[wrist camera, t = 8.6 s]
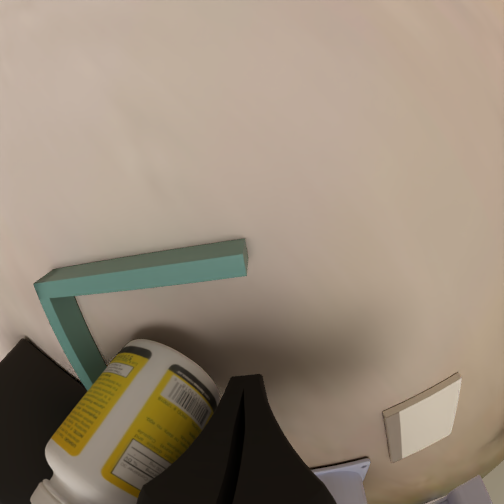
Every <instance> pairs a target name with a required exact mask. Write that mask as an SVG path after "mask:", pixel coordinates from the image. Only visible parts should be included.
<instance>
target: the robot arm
mask: <svg viewBox="0 0 504 504" xmlns="http://www.w3.org/2000/svg"><path fill="white" fill-rule="evenodd" d="M370 463H371V462H370V459H369V458H366V459H361V460H357V461H353V462H349V463H345V464H340V465H335V466H330V467H325V468H319V469H313V470H310V468H309V467H308V466H307V465H306V464H305V463H304V462H303V460H302V459H301V458H300V456H299V455H298V454H297V453H296V451H295V450H294V449H293V447H292V446H291V444H290V443H289V441H288V440H287V438H286V437H285V435H284V433H283V432H282V430H281V428H280V426H279V425H278V423H277V421H276V419H275V417H274V415H273V413H272V410H271V408H270V405H269V403H268V399H267V395H266V390H265V385H264V381H263V376H262V375H260V374H255V375H246V376H235V377H231V378H230V380H229V383H228V385H227V388H226V390H225V392H224V394H223V396H222V398H221V400H220V402H219V404H218V406H217V408H216V409H215V411H214V413H213V415H212V416H211V418H210V419H209V421H208V423H207V424H206V426H205V427H204V429H203V430H202V431H201V433H200V434H199V435H198V437H197V438H196V439H195V440H194V442H193V443H192V444H191V445H190V446H189V447H188V449H187V450H186V451H185V452H184V453H183V454H182V455H181V456H180V457H179V458H178V459H177V460H176V461H175V462H173V463H172V464H171V465H170V466H169V467H168V468H167V469H165V470H164V471H163V472H162V473H160V474H159V475H158V476H156V477H155V478H153V479H152V480H150V481H149V482H147V483H146V484H144V485H143V486H142V489H141V491H140V493H139V496H138V499H137V503H136V504H367V499H366V495H365V491H364V487H363V483H362V482H363V480H364V478H365V475H366V473H367V470H368V468H369V465H370ZM431 504H493V503H492V501H491V499H490V496H489V494H488V492H487V489H486V487H485V485H484V483H483V481H482V478H481V476H480V475H477V476H476V477H474V478H472V479H471V480H469V481H467V482H465V483H464V484H462V485H460V486H458V487H456V488H455V489H453V490H452V491H451V492H450V493H449V494H448V495H447V496H446V497H444V498H441V499H439V500H437V501H435V502H433V503H431Z"/></svg>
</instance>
